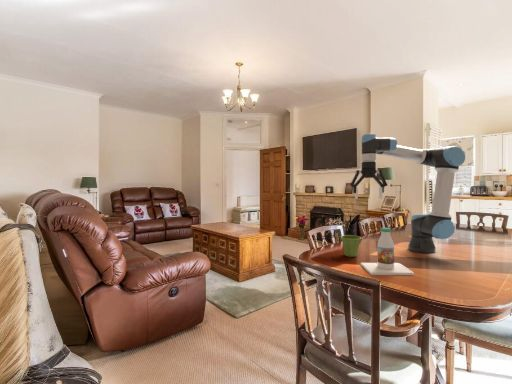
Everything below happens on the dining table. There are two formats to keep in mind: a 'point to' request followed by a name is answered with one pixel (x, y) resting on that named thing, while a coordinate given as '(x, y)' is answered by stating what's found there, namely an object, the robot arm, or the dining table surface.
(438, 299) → the dining table surface
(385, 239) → the milk bottle
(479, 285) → the dining table surface
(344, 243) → the plant pot
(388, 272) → the placemat
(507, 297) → the dining table surface
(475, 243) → the dining table surface
